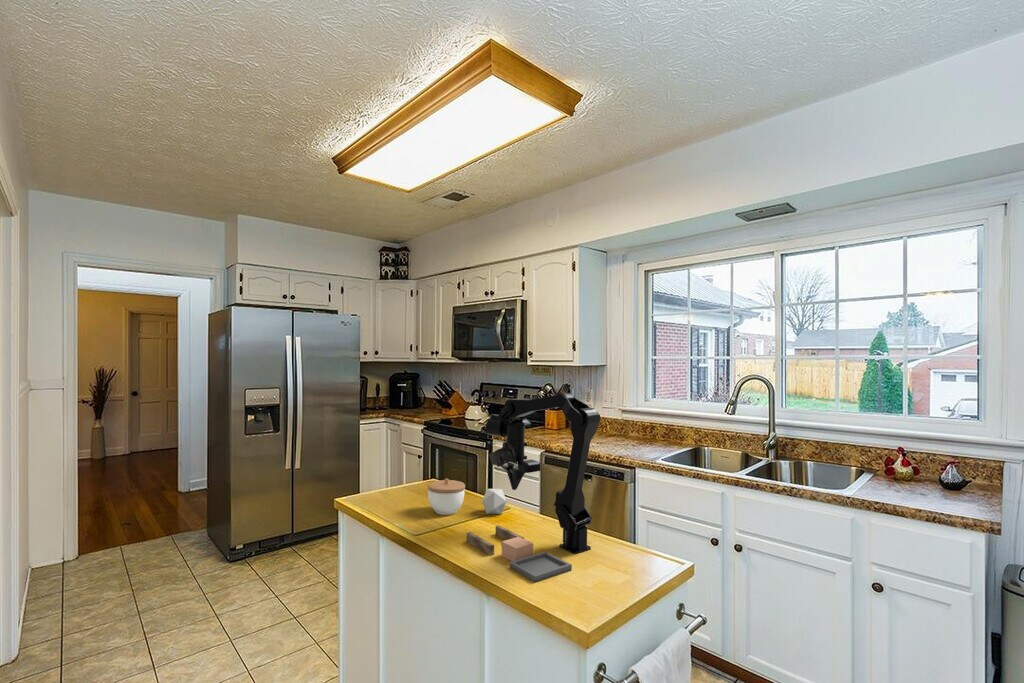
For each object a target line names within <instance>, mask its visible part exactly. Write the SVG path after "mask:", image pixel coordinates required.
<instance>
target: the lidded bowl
mask: <svg viewBox="0 0 1024 683" xmlns="http://www.w3.org/2000/svg"><path fill="white" fill-rule="evenodd" d="M465 489H466V484H465V483H464V482H462V481H459V480H453V479H452V480H451V479H449V478H444V479H441V480H435V481H432V482H429V483H428V484H427V497H428V498H427V499H428V502H429V505H430V507H431V508H432V509H433V510H434V512H435V513H436V514H437V515H440V516H442V515H444V516H450V515H454V514H456V513H457V511H458V510H459V509H460V508H461V506H462V505H463V502H464V499H465V494H466V493H465Z"/></svg>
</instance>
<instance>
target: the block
mask: <svg viewBox="0 0 1024 683" xmlns="http://www.w3.org/2000/svg"><path fill="white" fill-rule="evenodd" d="M532 555H534V542H531V541H529V540H527V539H525V538H524V539H523V538H521V537H516V538H512V539H509V540H505V539H504V540H503V541H501V557H503V558H504V559H507V560H509V561H510V562H512V561H515V560H519V559H522V558H525V557H529V556H532Z"/></svg>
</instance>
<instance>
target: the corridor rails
mask: <svg viewBox="0 0 1024 683" xmlns="http://www.w3.org/2000/svg"><path fill="white" fill-rule="evenodd" d="M495 535H496V536H497V537H499V538H502V539H503V540H504V541H505V540H509V539H512V538H516V537H521V538H523V539H525V537H524V536H522V535H520V534H517V533H516V532H514V531H511V530H510V529H508V528H506V527H503V526H501V525H495ZM466 543H468V544H470V545H471V546H473V547H475V548H477V549H478V550H480V551H482V552H483V553H486V554H487V555H489V556H493V555H495V544H493V543H492V542H489V541H487V540H486V539H484V538H482V537H480V536H478V535H477V534H474V533H473V532H471V531H468V532H466Z"/></svg>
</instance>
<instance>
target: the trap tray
mask: <svg viewBox="0 0 1024 683" xmlns="http://www.w3.org/2000/svg"><path fill="white" fill-rule="evenodd" d="M509 568H510V569H511V570H512V571H514V572H517V574H520V575H522V576H523V577H525V578H527V579H528V580H530V581H532V582H533V583H538V582H541V581H544V580H547V579H549V578H552V577H555V576H556V577H557V576H559V575H561V574H564V573H565V574H566V573H569V572H570V571H572V568H573V567H572V564H571V563H569V562H567V561H565V560H563V559H561V558H559V557H558V556H555V555H553V554H552V553H549V552H547V551H543V552H540V553H537V554H533V555H532V556H529V557H525V558H522V559H519V560H515V561H510V562H509Z"/></svg>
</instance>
